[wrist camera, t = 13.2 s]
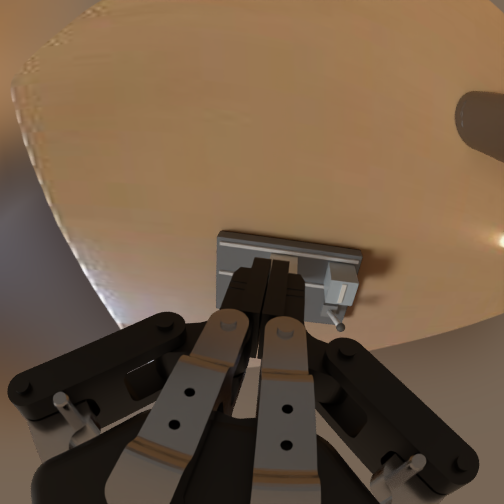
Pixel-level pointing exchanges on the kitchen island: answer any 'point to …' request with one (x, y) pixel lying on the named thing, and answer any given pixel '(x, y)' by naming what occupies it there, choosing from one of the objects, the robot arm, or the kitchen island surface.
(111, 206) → the kitchen island surface
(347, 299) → the slate-blue fader knob
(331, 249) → the panel
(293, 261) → the cream fader knob
